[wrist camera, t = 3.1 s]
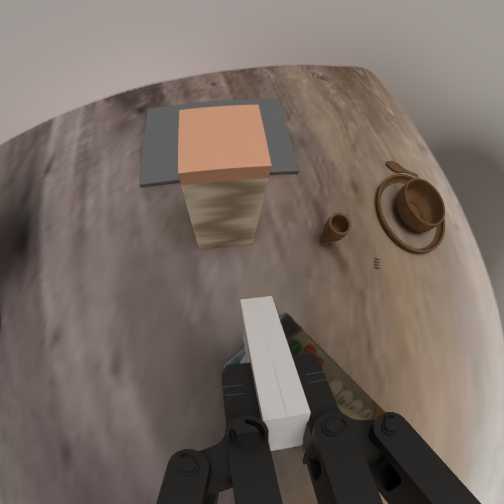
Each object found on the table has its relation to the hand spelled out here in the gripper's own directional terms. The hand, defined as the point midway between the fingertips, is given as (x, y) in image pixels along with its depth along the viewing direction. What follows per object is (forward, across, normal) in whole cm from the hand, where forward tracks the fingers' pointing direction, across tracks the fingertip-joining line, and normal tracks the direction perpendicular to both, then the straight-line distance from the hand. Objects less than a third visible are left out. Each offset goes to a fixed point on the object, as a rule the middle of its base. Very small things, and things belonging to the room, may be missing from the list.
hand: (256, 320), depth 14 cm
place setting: (+21, +21, -2) cm, 30 cm away
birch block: (+20, -1, -2) cm, 20 cm away
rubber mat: (+29, -1, +7) cm, 30 cm away
